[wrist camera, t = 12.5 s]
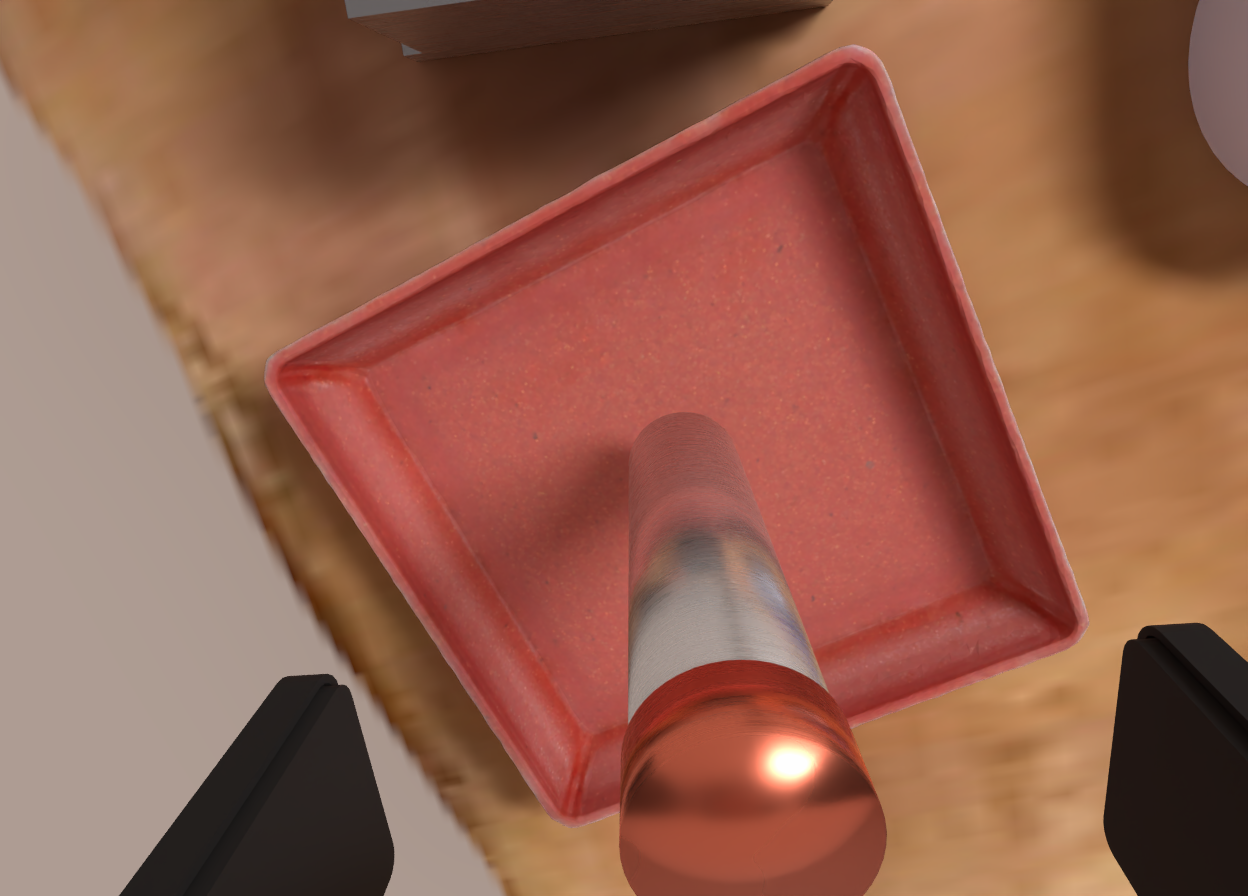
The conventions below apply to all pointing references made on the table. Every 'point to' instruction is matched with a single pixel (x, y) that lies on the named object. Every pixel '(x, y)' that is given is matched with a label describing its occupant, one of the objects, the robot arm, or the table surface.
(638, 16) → the block
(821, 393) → the plant saucer
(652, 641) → the pin
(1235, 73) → the wedge on round base
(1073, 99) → the table surface
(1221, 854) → the robot arm
